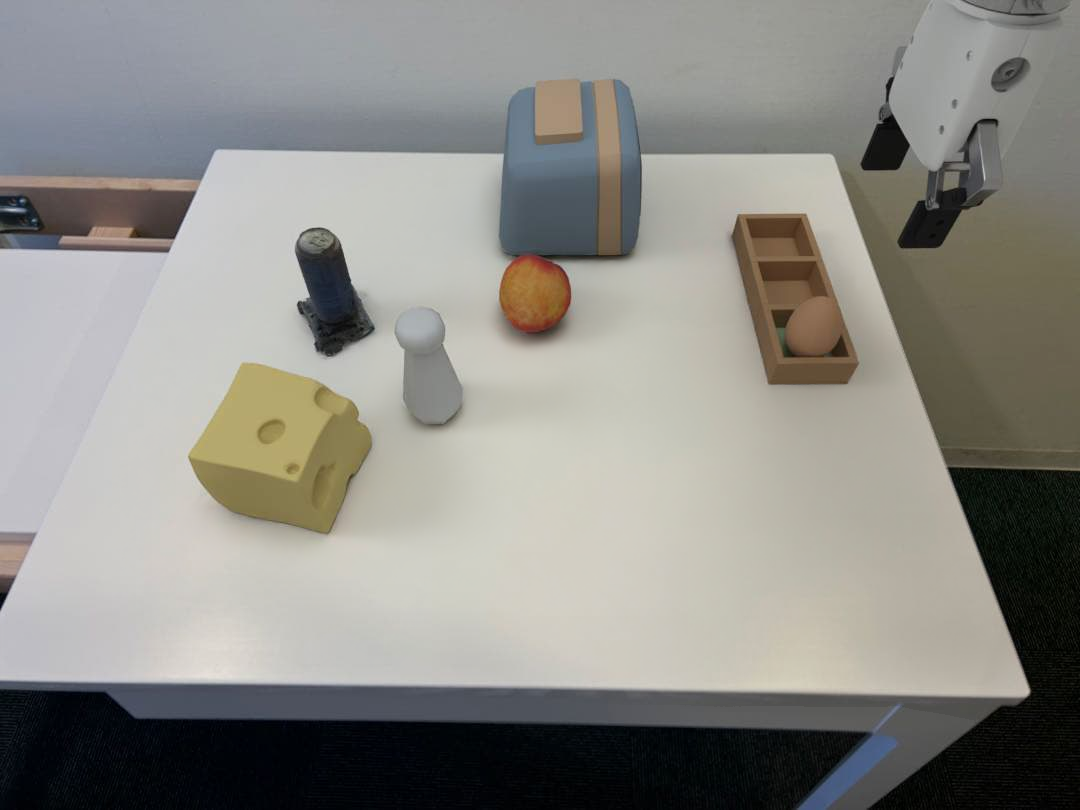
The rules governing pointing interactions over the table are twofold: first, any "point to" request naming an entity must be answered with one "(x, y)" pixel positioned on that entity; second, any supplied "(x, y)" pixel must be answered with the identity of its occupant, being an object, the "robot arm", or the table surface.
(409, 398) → the salt shaker
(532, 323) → the fruit
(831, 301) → the egg
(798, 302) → the compartment tray
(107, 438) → the table surface
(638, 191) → the blue toy backpack
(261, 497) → the cheese
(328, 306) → the dark blue cylinder
